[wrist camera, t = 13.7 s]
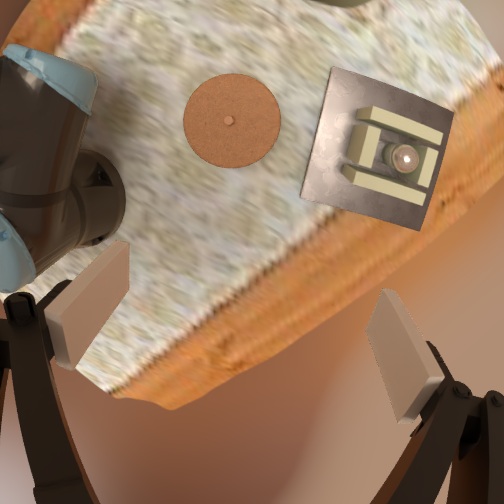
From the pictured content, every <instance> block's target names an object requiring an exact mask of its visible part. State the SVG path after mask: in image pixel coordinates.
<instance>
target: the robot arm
mask: <svg viewBox="0 0 504 504" xmlns="http://www.w3.org/2000/svg"><path fill="white" fill-rule="evenodd" d="M2 54H3V56H1V57H0V292H1V293H12V292H15V291H17V290H19V289H20V288H22V287H23V286H25V285H26V284H30V283H32V282H33V281H34V279H35V278H36V277H38V276H39V275H40V274H41V273H43V272H44V271H45V270H46V269H48V268H49V267H50V266H51V265H53V264H54V263H55V262H56V261H58V260H59V259H60V258H62V257H63V256H64V255H66V254H67V253H68V252H70V251H71V250H72V249H76V248H84V247H91V246H95V245H97V244H100V243H101V242H103V241H104V240H106V239H107V238H108V237H110V236H111V235H112V234H113V233H114V232H115V231H116V230H117V228H118V227H119V225H120V223H121V221H122V218H123V215H124V211H125V192H124V187H123V183H122V180H121V178H120V176H119V174H118V172H117V170H116V169H115V167H114V166H113V165H112V164H111V163H110V161H108V160H107V159H106V158H105V157H104V156H102V155H100V154H99V153H96V152H94V151H90V150H79V149H80V146H81V142H82V139H83V135H84V132H85V129H86V125H87V122H88V119H89V116H90V117H91V114H92V112H91V108H92V104H93V101H94V97H95V94H96V91H97V88H98V79H97V76H96V74H95V73H94V72H93V71H92V70H90V69H88V68H86V67H84V66H81V65H79V64H76V63H73V62H71V61H68V60H65V59H63V58H60V57H57V56H54V55H51V54H48V53H45V52H42V51H37V50H35V49H31V48H28V47H25V46H22V45H18V44H14V43H11V44H9V45H8V46H7V47H6V49H5V50H3V53H2ZM128 290H129V243H128V242H123V241H117V240H116V241H115V242H113V243H112V244H111V245H110V246H109V247H108V248H107V249H106V250H105V251H104V252H103V253H101V254H100V255H99V256H98V257H97V258H96V259H95V260H94V261H93V262H92V263H91V264H90V265H89V266H88V267H87V268H85V269H84V270H83V271H82V272H81V273H80V274H79V275H78V276H77V277H76V278H75V279H74V280H73V281H72V280H68V279H67V280H64V281H62V282H60V283H58V284H57V285H56V286H55V287H54V288H53V289H52V290H51V291H50V292H49V293H48V294H47V295H46V296H44V297H43V298H42V299H41V300H40V301H39V302H38V303H37V304H36V303H35V299H34V297H33V295H32V294H30V293H27V292H17V293H13V294H11V295H9V296H8V297H7V298H6V299H5V300H4V303H3V305H4V309H5V313H6V316H7V319H0V432H1V422H2V413H3V405H4V397H5V390H6V385H7V379H8V373H9V369H11V371H12V380H13V387H14V394H15V401H16V406H17V412H18V418H19V423H20V428H21V433H22V437H23V442H24V446H25V450H26V454H27V458H28V462H29V465H30V469H31V472H32V476H33V479H34V483H35V487H34V488H33V494H34V497H35V501H36V504H100V502H99V500H98V498H97V496H96V494H95V492H94V490H93V487H92V485H91V483H90V481H89V478H88V476H87V474H86V472H85V469H84V467H83V464H82V462H81V459H80V457H79V454H78V452H77V449H76V446H75V444H74V441H73V438H72V435H71V432H70V430H69V427H68V424H67V421H66V418H65V415H64V411H63V408H62V405H61V401H60V398H59V395H58V391H57V388H56V384H55V380H54V376H53V372H52V368H51V364H50V360H51V359H52V357H53V356H55V359H56V363H57V365H58V366H60V367H63V368H65V369H68V370H71V371H73V370H74V368H75V367H76V365H77V364H78V362H79V361H80V359H81V358H82V356H83V355H84V353H85V352H86V350H87V349H88V347H89V346H90V344H91V343H92V341H93V340H94V338H95V337H96V336H97V334H98V333H99V331H100V330H101V328H102V327H103V325H104V324H105V323H106V321H107V320H108V318H109V317H110V315H111V314H112V313H113V311H114V310H115V308H116V307H117V306H118V304H119V303H120V301H121V300H122V299H123V297H124V296H125V295H126V293H127V292H128ZM365 331H366V333H367V336H368V339H369V342H370V344H371V347H372V350H373V352H374V355H375V358H376V361H377V363H378V366H379V369H380V372H381V375H382V377H383V380H384V383H385V386H386V389H387V392H388V395H389V398H390V401H391V404H392V407H393V410H394V413H395V416H396V419H397V423H413V421H414V420H415V419H416V418H417V416H418V415H419V414H420V416H421V418H422V421H421V422H420V424H419V425H418V426H417V427H416V429H415V430H414V431H413V432H412V434H411V435H410V437H412V438H411V440H410V441H409V443H408V445H407V447H406V448H405V450H404V452H403V454H402V455H401V457H400V459H399V460H398V462H397V464H396V465H395V467H394V469H393V470H392V472H391V473H390V475H389V476H388V478H387V480H386V481H385V482H384V484H383V486H382V487H381V488H380V490H379V491H378V493H377V494H376V496H375V497H374V499H373V500H372V501H371V503H370V504H434V502H435V499H436V497H437V495H438V493H439V491H440V489H441V486H442V484H443V482H444V479H445V477H446V475H447V472H448V470H449V467H450V465H451V462H452V468H451V476H450V484H449V491H448V497H447V503H446V504H504V396H503V395H502V394H501V393H499V392H497V391H493V390H491V391H488V392H487V394H486V395H485V397H484V398H480V397H476V396H472V392H471V390H470V389H469V388H468V387H467V386H466V385H465V384H463V383H461V382H459V381H454V379H453V377H452V375H451V373H450V372H449V370H448V368H447V366H446V365H445V363H444V361H443V359H442V357H440V354H439V352H438V350H437V349H436V347H435V346H433V345H432V344H431V343H430V342H429V341H425V339H424V338H423V336H422V334H421V332H420V331H419V329H418V327H417V326H416V324H415V322H414V321H413V319H412V317H411V316H410V314H409V312H408V310H407V309H406V307H405V305H404V304H403V302H402V301H401V299H400V298H399V296H398V294H397V292H396V291H395V290H391V289H385V288H382V291H381V293H380V296H379V299H378V301H377V304H376V306H375V309H374V311H373V313H372V316H371V318H370V321H369V323H368V326H367V328H366V330H365Z"/></svg>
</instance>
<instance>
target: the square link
mask: <svg viewBox="0 0 504 504" xmlns="http://www.w3.org/2000/svg"><path fill="white" fill-rule="evenodd" d="M356 119H357V120H360V121H363V122H366V123H369V124H372V125H375V126H378V127H381V128H384V129H387V130H390V131H393V132H395V133H398V134H401V135H403V136H406V137H409V138H411V139H414V140H416V141H421V142H426V143H431V144H436V145H440V144H441V140H442V136H443V133H441V132H439V131H437V130H434V129H432V128H430V127H427V126H425V125H423V124H420V123H418V122H415V121H413V120H410V119H408V118H405V117H403V116H400V115H397V114H395V113H392V112H389V111H386V110H384V109H381V108H378V107H375V106H370V107H364V108H358V113H357V117H356ZM380 133H381V129H378V128H375V127H372V126H369V125H354V129H353V133H352V137H351V141H350V145H349V148H348V152H347V156H346V158H348V159H350V160H351V161H353V162H355V163H357V164H358V165H362V166H365V167H368V168H371V167H372V163H373V159H374V156H375V152H376V148H377V144H378V141H379V137H380ZM406 144H408V145H410V146H412V147H413V148H414V149H415V150H416V152H417V154H418V157H419V162H418V165H417V167H416V168H415V170H413V171H412V172H410V173H401V172H399V171H398V174H399V175H401V176H403V177H405V178H407V179H409V180H411V181H413V182H415V183H417V184H419V185H422V186H424V187H427V188H428V187H429V184H430V180H431V177H432V173H433V170H434V166H435V163H436V159H437V156H438V152H439V151H436V150H434V149H432V148H429V147H426V146H421V145H417V144H412V143H407V142H406ZM342 175H343V176H344V177H346V178H347V179H348V180H349V181H350V182H351V183H352V184H355V185H358V186H361V187H365V188H368V189H371V190H375V191H378V192H381V193H384V194H388V195H391V196H394V197H397V198H400V199H403V200H406V201H409V202H412V203H415V204H418V205H421V206H423V203H424V200H425V196H426V193H424V192H422V191H420V190H419V189H417V188H415V187H413V186H411V185H410V184H408V183H406V182H403V181H400V180H397V179H394V178H391V177H388V176H385V175H382V174H379V173H376V172H373V171H369V170H366V169H363V168H360V167H356V166H353V165H349V164H346V163H345V164H344V167H343V171H342Z"/></svg>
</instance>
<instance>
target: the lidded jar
mask: <svg viewBox="0 0 504 504" xmlns="http://www.w3.org/2000/svg"><path fill="white" fill-rule="evenodd" d="M183 122H184V131H185V135H186V138H187V140H188V142H189V144H190V146H191V147H192V149H193V150H194V151H195V153H196V154H197V155H198V156H200V157H201V158H202V159H204V160H205V161H206V162H208V163H210V164H212V165H215V166H219V167H224V168H239V167H244V166H247V165H250V164H252V163H254V162H257V161H258V160H259V159H261V158H262V157H264V156H265V155H266V154H267V153H268V152H269V151H270V149H271V148H272V147H273V145H274V143H275V142H276V140H277V137H278V134H279V131H280V125H281V116H280V110H279V106H278V103H277V101H276V99H275V97H274V96H273V94H272V93H271V92H270V90H269V89H268V88H267V87H266V86H265V85H264V84H262V83H261V82H259V81H258V80H256V79H254V78H252V77H249V76H246V75H242V74H224V75H219V76H216V77H214V78H211V79H209V80H208V81H206V82H204V83H203V84H202V85H200V86H199V87H198V88H197V89H196V90H195V91H194V93H193V94H192V95H191V97H190V99H189V101H188V103H187V105H186V108H185V111H184V118H183Z"/></svg>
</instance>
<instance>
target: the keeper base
mask: <svg viewBox="0 0 504 504" xmlns="http://www.w3.org/2000/svg"><path fill="white" fill-rule="evenodd" d="M370 106H375V107H378V108H381V109H384V110H386V111H389V112H392V113H395V114H397V115H400V116H403V117H405V118H408V119H410V120H413V121H415V122H418V123H420V124H423V125H425V126H427V127H430V128H432V129H434V130H437V131H439V132H441V133H443V136H442V140H441V144H440V145H436V144H431V143H426V142H421V141H416V140H414V139H411V138H409V137H406V136H403V135H401V134H398V133H395V132H393V131H390V130H387V129H384V128H381V127H378V126H375V125H372V124H369V123H366V122H363V121H360V120H357V119H356V117H357V113H358V108H364V107H370ZM453 116H454V112H452V111H450V110H448V109H445V108H443V107H441V106H439V105H437V104H435V103H432V102H430V101H428V100H426V99H423V98H421V97H419V96H416V95H414V94H411V93H409V92H407V91H404V90H402V89H399V88H396V87H394V86H391V85H389V84H386V83H383V82H380V81H378V80H375V79H372V78H369V77H366V76H363V75H360V74H357V73H354V72H351V71H347V70H344V69H341V68H337V67H334V66H333V67H332V68H331V72H330V76H329V80H328V85H327V89H326V93H325V97H324V101H323V106H322V110H321V114H320V118H319V122H318V126H317V130H316V134H315V138H314V142H313V146H312V150H311V154H310V158H309V162H308V166H307V170H306V174H305V178H304V182H303V185H302V189H301V193H300V198H303V199H307V200H310V201H314V202H318V203H322V204H326V205H330V206H333V207H337V208H341V209H344V210H348V211H352V212H355V213H359V214H362V215H366V216H370V217H373V218H376V219H380V220H383V221H387V222H390V223H393V224H397V225H400V226H403V227H407V228H410V229H413V230H416V231H420V229H421V226H422V224H423V221H424V218H425V215H426V212H427V209H428V206H429V203H430V200H431V197H432V194H433V191H434V187H435V184H436V181H437V177H438V174H439V171H440V167H441V164H442V160H443V156H444V153H445V149H446V145H447V141H448V137H449V133H450V129H451V124H452V120H453ZM354 125H369V126H372V127H375V128H378V129H381V133H380V137H379V141H378V144H377V148H376V152H375V156H374V159H373V163H372V167H371V168H368V167H365V166H362V165H358V164H357V163H355V162H353V161H351V160H350V159H348V158H346V156H347V152H348V148H349V145H350V141H351V137H352V133H353V129H354ZM406 142H407V143H412V144H417V145H421V146H426V147H429V148H432V149H434V150H436V151H439V152H438V156H437V159H436V163H435V166H434V170H433V173H432V177H431V180H430V184H429V187H428V188H427V187H424V186H422V185H419V184H417V183H415V182H413V181H411V180H409V179H407V178H405V177H403V176H401V175H399V174H398V171H399V172H401V173H410V172H412V171H413V170H415V168H416V167H417V165H418V162H419V157H418V154H417V152H416V150H415V149H414V148H413V147H412V146H410V145H408V144H406ZM345 163H346V164H349V165H353V166H356V167H360V168H363V169H366V170H369V171H373V172H376V173H379V174H382V175H385V176H388V177H391V178H394V179H397V180H400V181H403V182H406V183H408V184H410V185H411V186H413V187H415V188H417V189H419V190H420V191H422V192H424V193H426V196H425V200H424V203H423V206H421V205H418V204H415V203H412V202H409V201H406V200H403V199H400V198H397V197H394V196H391V195H388V194H384V193H381V192H378V191H375V190H371V189H368V188H365V187H361V186H358V185H355V184H352V183H351V182H350V181H349V180H348V179H347V178H346V177H344V176H343V175H342V171H343V167H344V164H345Z"/></svg>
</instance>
